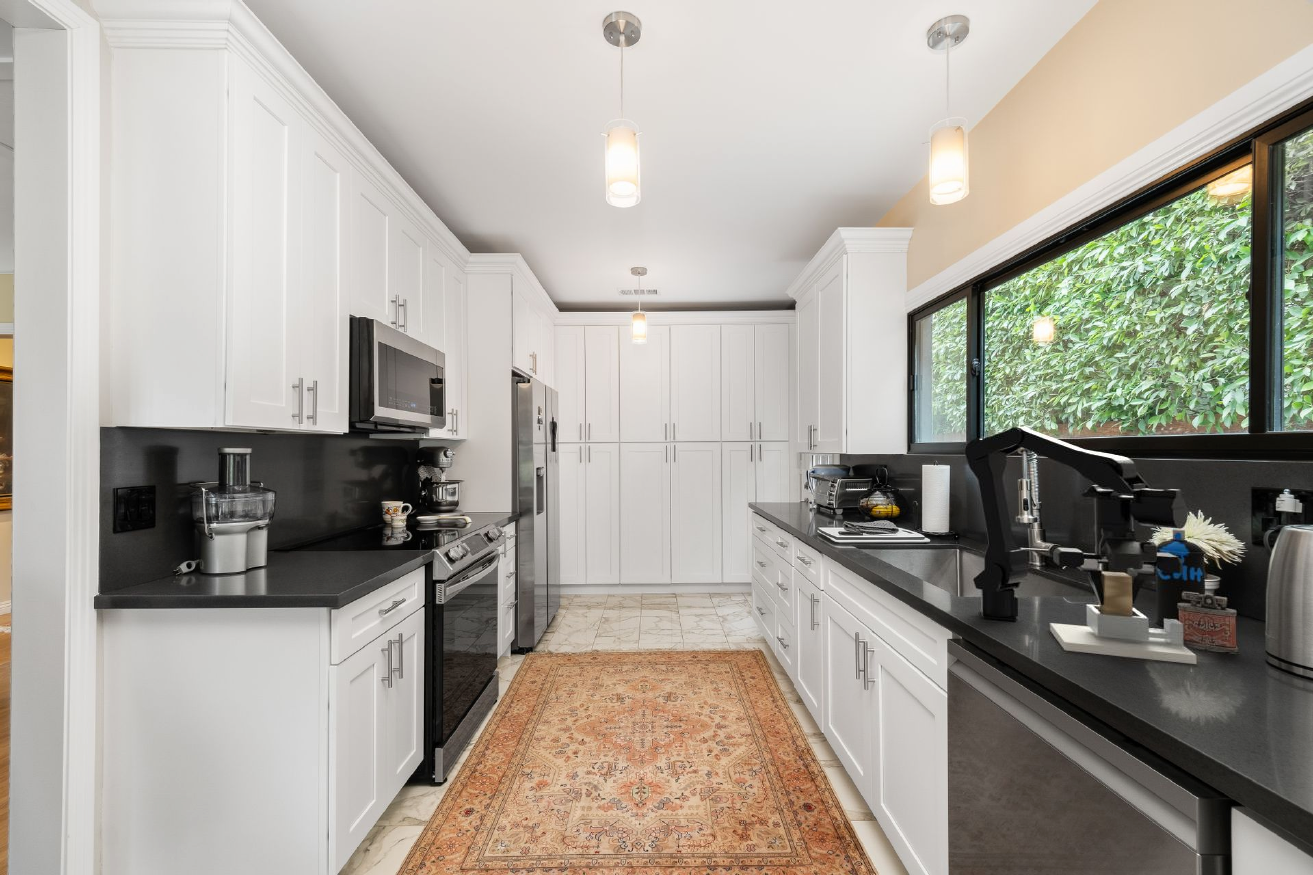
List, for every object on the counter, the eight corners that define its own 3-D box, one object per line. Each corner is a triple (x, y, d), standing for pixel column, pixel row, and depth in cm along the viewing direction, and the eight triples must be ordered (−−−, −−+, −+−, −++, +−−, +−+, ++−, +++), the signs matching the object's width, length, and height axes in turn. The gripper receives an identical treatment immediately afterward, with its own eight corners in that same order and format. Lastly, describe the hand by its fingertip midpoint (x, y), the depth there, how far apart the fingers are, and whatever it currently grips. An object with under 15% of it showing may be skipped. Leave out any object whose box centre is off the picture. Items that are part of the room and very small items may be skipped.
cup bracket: (1097, 641, 110) (1097, 614, 110) (1087, 629, 117) (1086, 604, 117) (1188, 650, 105) (1188, 621, 105) (1171, 637, 112) (1171, 610, 112)
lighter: (1237, 650, 109) (1235, 595, 110) (1237, 654, 107) (1236, 598, 107) (1178, 640, 115) (1177, 588, 115) (1178, 645, 112) (1176, 591, 113)
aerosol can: (1157, 617, 130) (1155, 526, 130) (1209, 625, 124) (1206, 529, 125) (1153, 626, 124) (1150, 529, 125) (1206, 634, 118) (1204, 533, 119)
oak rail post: (1106, 618, 111) (1105, 575, 111) (1100, 612, 115) (1099, 571, 115) (1132, 620, 110) (1131, 576, 110) (1125, 615, 113) (1124, 572, 113)
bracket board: (1064, 650, 110) (1064, 642, 110) (1050, 630, 122) (1050, 622, 122) (1196, 664, 102) (1196, 655, 102) (1167, 641, 114) (1166, 633, 114)
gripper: (1064, 525, 109) (1066, 611, 109) (1195, 530, 102) (1197, 622, 101) (1052, 519, 119) (1053, 597, 119) (1169, 522, 112) (1171, 606, 112)
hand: (1115, 605), depth 112 cm, fingers closed on oak rail post, 4 cm apart
